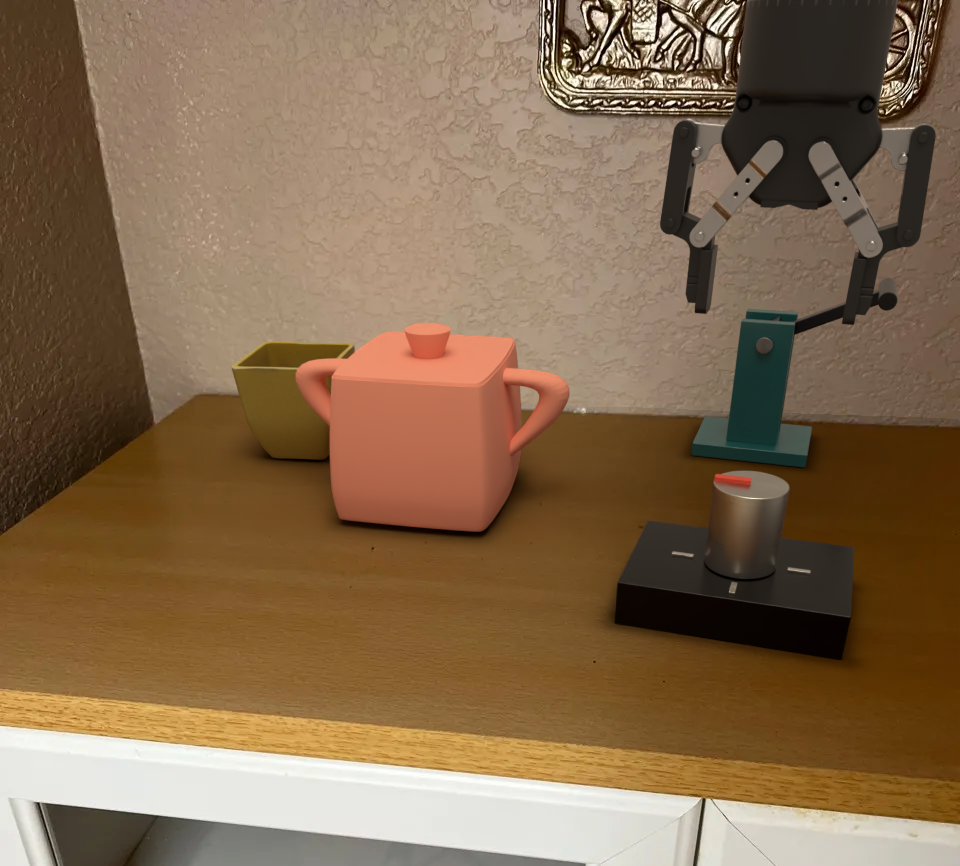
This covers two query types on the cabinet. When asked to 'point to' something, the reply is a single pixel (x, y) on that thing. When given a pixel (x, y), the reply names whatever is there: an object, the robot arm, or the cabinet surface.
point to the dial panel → (738, 593)
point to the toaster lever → (881, 297)
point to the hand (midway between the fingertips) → (773, 316)
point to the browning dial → (745, 524)
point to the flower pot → (285, 397)
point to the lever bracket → (758, 399)
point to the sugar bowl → (428, 425)
